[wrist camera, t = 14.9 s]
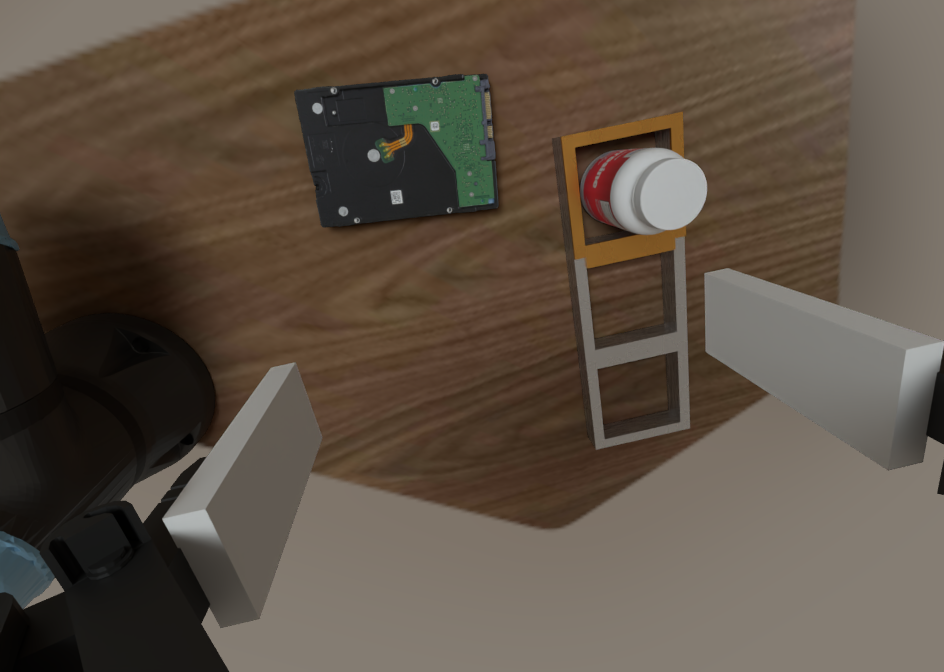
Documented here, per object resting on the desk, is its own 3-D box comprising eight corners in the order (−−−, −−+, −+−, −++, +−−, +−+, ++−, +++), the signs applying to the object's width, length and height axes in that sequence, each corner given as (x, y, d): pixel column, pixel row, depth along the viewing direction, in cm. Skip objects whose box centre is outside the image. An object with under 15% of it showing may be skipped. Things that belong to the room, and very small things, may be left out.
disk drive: (328, 226, 41) (496, 205, 42) (321, 231, 39) (501, 208, 39) (299, 94, 38) (484, 74, 38) (290, 89, 35) (488, 67, 36)
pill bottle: (624, 135, 41) (695, 125, 30) (656, 195, 43) (732, 205, 32) (564, 179, 41) (613, 184, 31) (598, 236, 43) (655, 259, 33)
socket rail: (587, 436, 51) (597, 451, 48) (551, 138, 40) (561, 136, 37) (677, 416, 51) (691, 429, 48) (665, 115, 40) (682, 111, 38)
